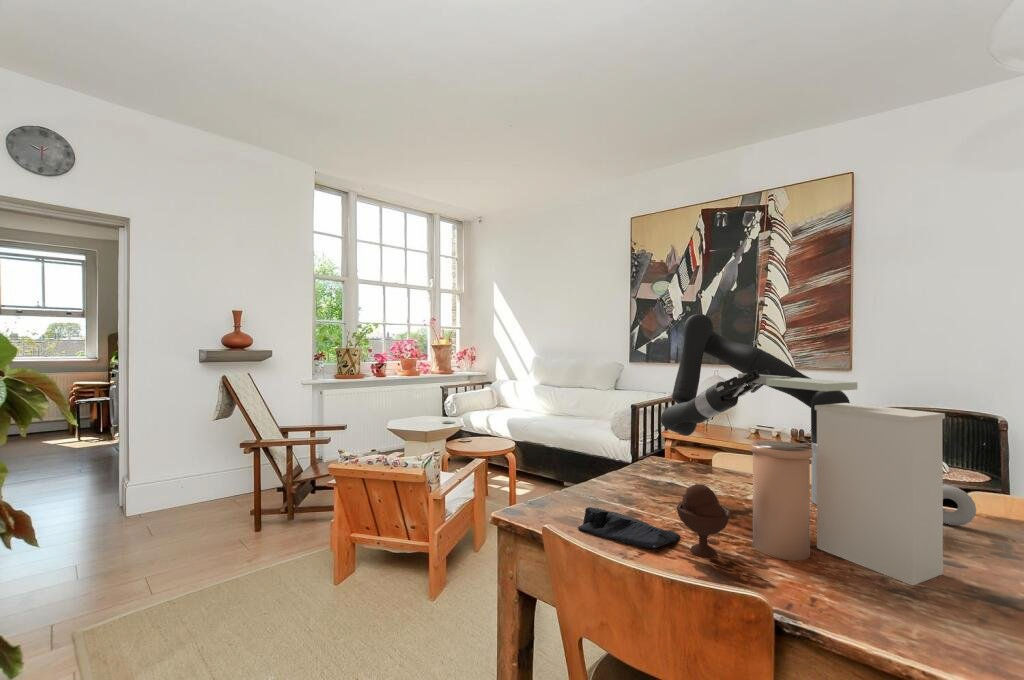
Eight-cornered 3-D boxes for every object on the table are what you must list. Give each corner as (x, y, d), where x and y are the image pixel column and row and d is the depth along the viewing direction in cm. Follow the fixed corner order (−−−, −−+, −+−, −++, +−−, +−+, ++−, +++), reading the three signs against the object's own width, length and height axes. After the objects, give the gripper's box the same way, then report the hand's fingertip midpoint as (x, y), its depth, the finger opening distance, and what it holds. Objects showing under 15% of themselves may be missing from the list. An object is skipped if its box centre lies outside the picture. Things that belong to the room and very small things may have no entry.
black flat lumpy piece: (653, 559, 101) (653, 537, 101) (572, 530, 116) (572, 510, 116) (686, 539, 111) (686, 519, 111) (607, 514, 127) (607, 497, 127)
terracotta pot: (773, 534, 113) (773, 438, 113) (825, 555, 102) (824, 448, 102) (738, 543, 108) (738, 442, 108) (788, 565, 97) (788, 453, 97)
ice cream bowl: (737, 565, 97) (737, 492, 97) (680, 560, 99) (680, 489, 99) (724, 544, 107) (724, 478, 108) (673, 540, 110) (673, 475, 110)
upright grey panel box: (846, 539, 111) (846, 402, 111) (945, 574, 94) (945, 413, 94) (814, 547, 106) (814, 405, 106) (913, 586, 89) (913, 417, 89)
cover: (757, 380, 127) (757, 373, 127) (857, 389, 104) (857, 380, 104) (727, 381, 123) (728, 374, 123) (825, 391, 100) (825, 381, 100)
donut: (977, 529, 117) (977, 488, 117) (975, 532, 115) (975, 491, 115) (924, 517, 125) (924, 479, 125) (922, 520, 123) (921, 482, 123)
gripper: (691, 388, 132) (737, 360, 118) (728, 387, 138) (775, 359, 124) (702, 413, 128) (750, 387, 115) (739, 411, 134) (788, 385, 121)
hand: (763, 373), depth 119 cm, fingers closed on cover, 3 cm apart
